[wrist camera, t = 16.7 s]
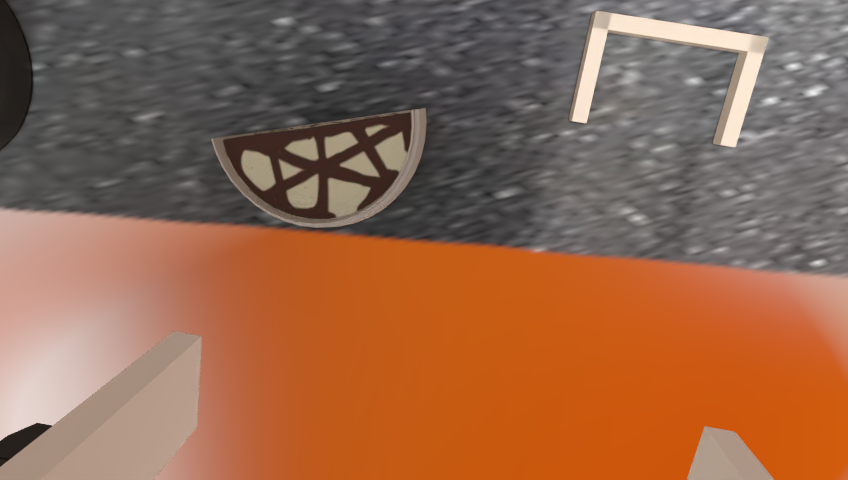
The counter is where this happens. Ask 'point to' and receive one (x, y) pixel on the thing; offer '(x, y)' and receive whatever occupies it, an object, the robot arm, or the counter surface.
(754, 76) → the holder
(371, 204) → the food container
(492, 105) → the counter surface
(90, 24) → the counter surface
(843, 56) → the counter surface
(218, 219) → the counter surface
